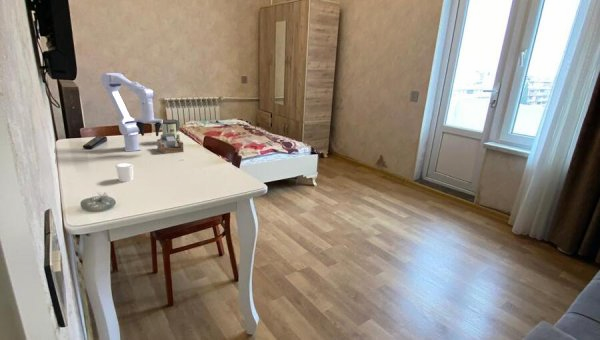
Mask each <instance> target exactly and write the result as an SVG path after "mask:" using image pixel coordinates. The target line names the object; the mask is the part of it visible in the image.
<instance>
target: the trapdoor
mask: <svg viewBox="0 0 600 340" xmlns="http://www.w3.org/2000/svg"><path fill="white" fill-rule="evenodd" d="M172 136H174V138H175V135H174V134H163V133H162V134H160V138H159V139H160V141H161V142H162V143H163V144H164V148H173V147H167V144H166V137H172ZM175 140H176V139H175ZM175 147H179V145H178V143H177V141H175Z"/></svg>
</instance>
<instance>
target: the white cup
mask: <svg viewBox="0 0 600 340" xmlns="http://www.w3.org/2000/svg"><path fill="white" fill-rule="evenodd" d="M115 169H116V173H117V177H118V181H119V182H121V183H122V182H123V183H125V182H126V183H127V182H131V181H133V180H134V164H133V163H131V162H121V163H117V164H116V165H115Z"/></svg>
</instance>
